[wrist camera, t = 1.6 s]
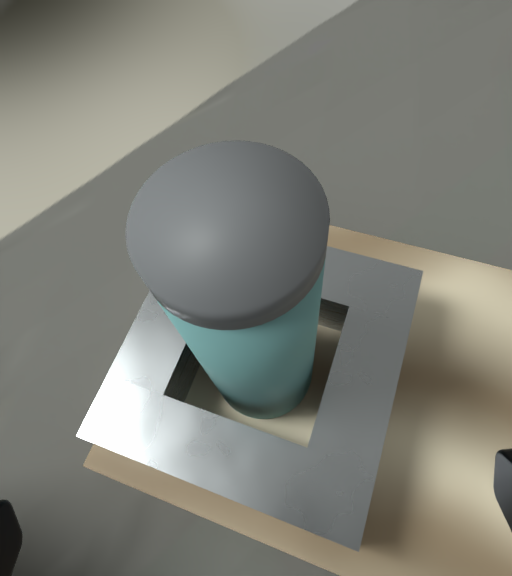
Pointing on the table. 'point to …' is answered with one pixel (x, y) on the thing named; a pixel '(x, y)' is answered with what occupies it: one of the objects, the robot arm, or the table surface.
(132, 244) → the teal dowel
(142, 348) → the square metal frame plate
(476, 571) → the birch board
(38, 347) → the table surface
